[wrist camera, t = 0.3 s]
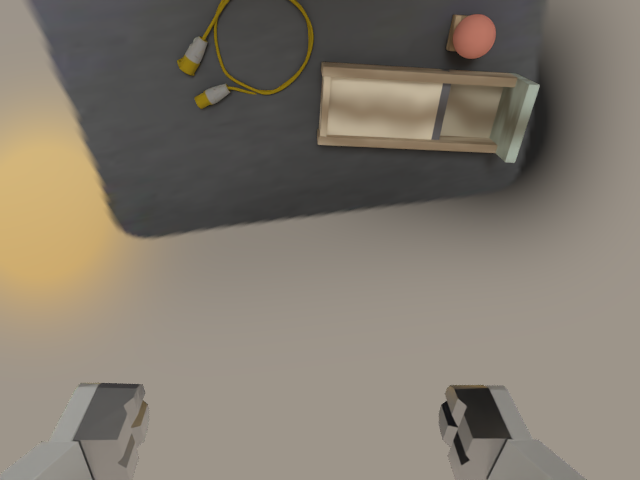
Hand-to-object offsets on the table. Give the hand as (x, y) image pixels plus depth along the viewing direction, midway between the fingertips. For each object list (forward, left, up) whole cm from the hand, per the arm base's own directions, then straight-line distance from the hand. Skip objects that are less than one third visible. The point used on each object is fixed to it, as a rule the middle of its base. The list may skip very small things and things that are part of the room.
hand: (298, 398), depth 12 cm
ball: (-4, +19, -43) cm, 48 cm away
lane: (+4, +14, -46) cm, 49 cm away
